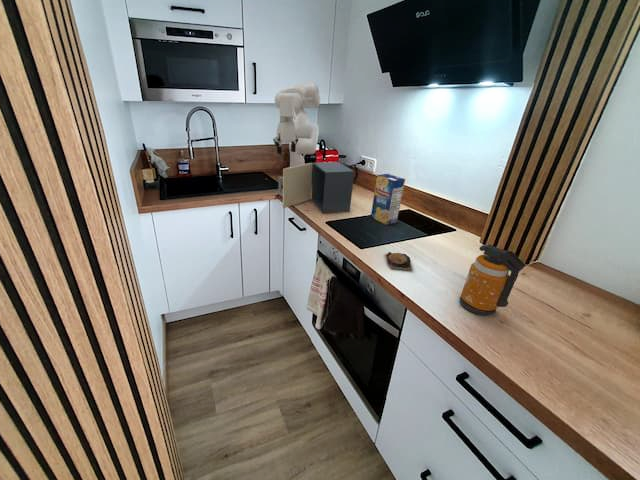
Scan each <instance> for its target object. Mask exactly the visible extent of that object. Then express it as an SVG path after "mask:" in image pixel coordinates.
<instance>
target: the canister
mask: <svg viewBox="0 0 640 480" xmlns="http://www.w3.org/2000/svg"><path fill="white" fill-rule="evenodd" d="M479 251H480V252H483V253H482V254H480V255H478V256H476V258H475V260H474V262H473V263H471V265H470V267H469V270H468V273H467V276H466V279H465V282H464V286H463V288H462V291H461V294H460V297H459V302H460V304H461V305H462V306H463V307H464V308H465V309H467V310H468V311H470V312H472V313H475V314H478V315H481V316H492V315H494V314H495V313H496V311H497V308H506V307H507V306H508V305H509V301H508V299H509V297H510V294H511V291H512V289H513V287H514V285H515V283H516V282H517V279H518V277H519V273H520V272H521V271H522V270H523V269H524V268H525V267H526V266H527V265H526V264H525V262H524V261H522V259H520V258H519V256H517V255H516V253H515V252H513V250H505V249H502V248H500V247H497V246H494V245H493V244H490V243H489V244H482V245H481V246H479ZM509 273H510V274H509Z"/></svg>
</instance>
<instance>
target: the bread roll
mask: <svg viewBox="0 0 640 480" xmlns="http://www.w3.org/2000/svg"><path fill="white" fill-rule="evenodd" d="M385 257H386V258H385V259H386V261H387V264H388V266H389V268H390V270H391V269H392V270H402V271H411V272H412V271H413V267H412V264H411V263H412V260H411V257H410V256H409V255H408V254H406V253H401V252H393V253H392V252H391V251H389V252H388V253H386V254H385Z"/></svg>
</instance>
